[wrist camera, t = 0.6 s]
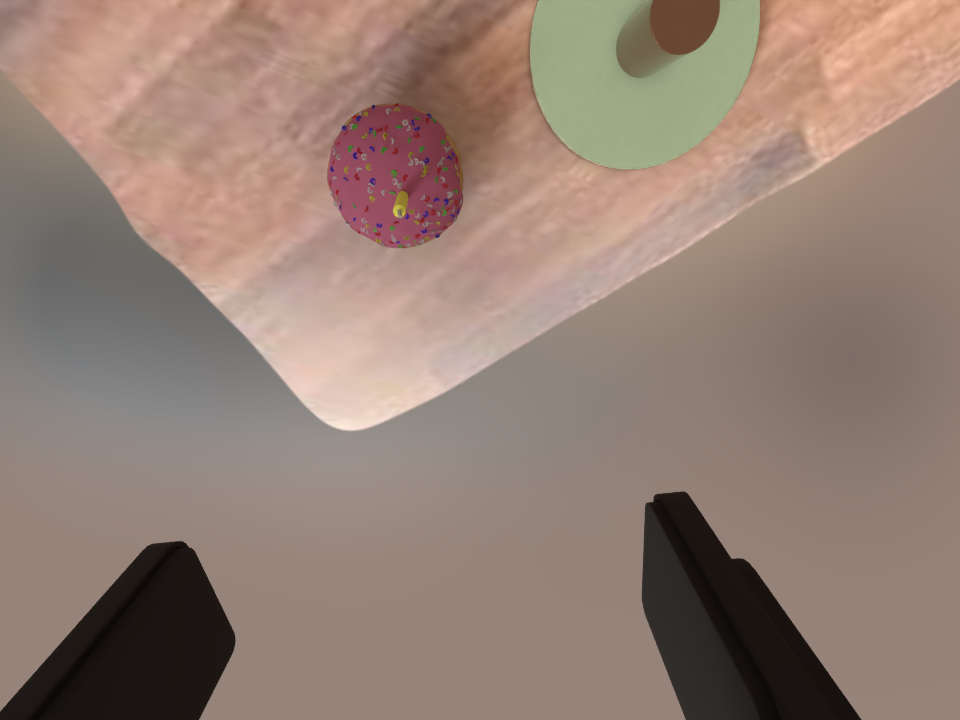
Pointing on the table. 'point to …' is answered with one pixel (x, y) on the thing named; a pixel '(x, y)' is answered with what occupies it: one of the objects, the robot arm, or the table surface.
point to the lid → (639, 73)
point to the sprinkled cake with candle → (396, 176)
